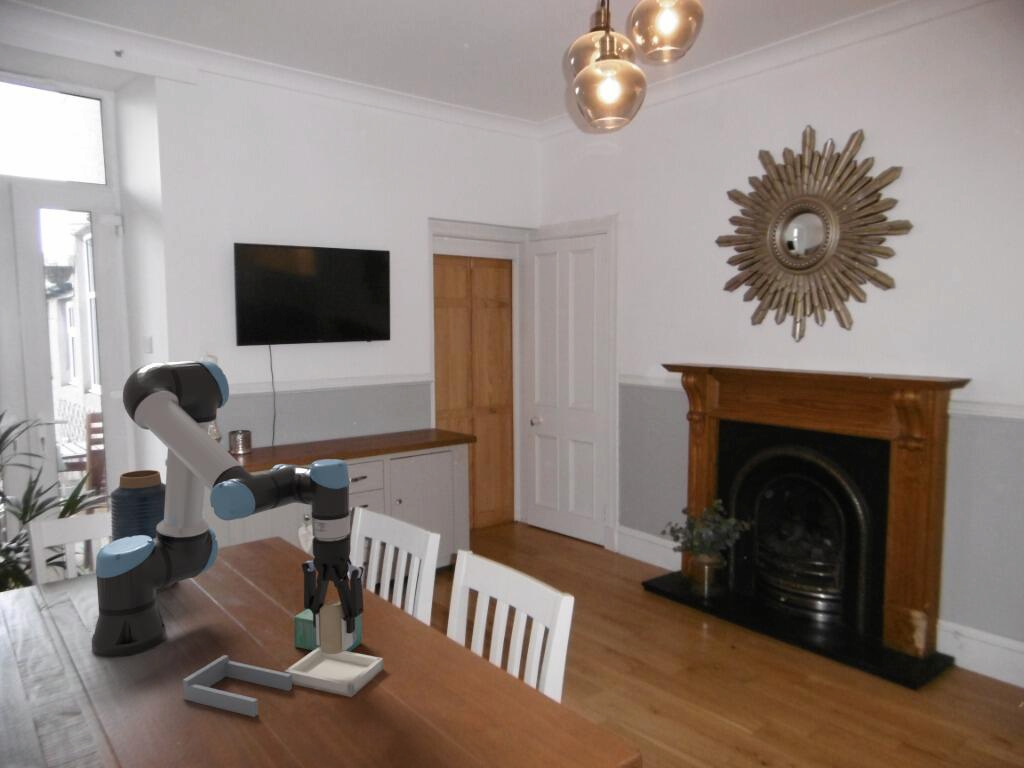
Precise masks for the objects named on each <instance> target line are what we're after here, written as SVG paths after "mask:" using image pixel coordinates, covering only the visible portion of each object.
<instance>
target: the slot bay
mask: <svg viewBox="0 0 1024 768" xmlns="http://www.w3.org/2000/svg"><path fill="white" fill-rule="evenodd" d="M229 659H230V658H229V655H226V654H223V655H222V656H219V657H218V658H216V659H215V660H213V661H212V662H210V663H208V664H207V665H205V666H204V667H201V668H200V669H199V670H197V671H196V672H193V673H192V674H190V675H189V676H187V677H185V678H184V679H183V680H182V689H183V690H182V691H183V700H186V701H190V702H194V703H197V704H201V705H205V706H209V707H213V708H218V709H220V710H224V711H229V712H233V713H238V714H241V715H244V716H245V715H246V716H249V717H252V718H256V716H258V715H259V704H258V703H259V702H258V698H255V697H250V696H246V695H242V694H237V693H234V692H229V691H225V690H220V689H217V688H214V687H213V688H212V687H211V686H213V685H215V684H217V683H218V682H219V681H221V680H223V679H224V678H226V677H227V678H230V679H236V680H240V681H244V682H249V683H253V684H257V685H261V686H265V687H270V688H275V689H280V690H283V691H287V692H290V691H291V690H292V689H293V684H292V674H288V673H284V671H283V672H282V671H278V670H273V669H270V668H265V667H260V666H255V665H251V664H247V663H241V662H237V661H233V660H229Z"/></svg>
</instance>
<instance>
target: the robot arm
mask: <svg viewBox="0 0 1024 768" xmlns="http://www.w3.org/2000/svg"><path fill="white" fill-rule="evenodd" d="M229 397H230V386H229V382H228V379H227V376H226V374H224V372H223V369H222V368H221V367H220V366H219V365H217V363H215V362H213V361H210V360H195V359H191V360H185V361H173V362H171V361H170V362H161V363H159V362H155V363H152V362H151V363H148V364H145V365H143V366H141V367H139V368H137V369H136V370H135V371H133V372H132V373H130V376H129V377H128V378H127V379H126V382H125V384H124V387H123V390H122V402H123V407H124V409H125V411H126V413H127V415H128V416H129V418H130V419H131V420H132V421H133V422H134V423H135V424H136V425H137V426H138V427H139V428H141V429H143V430H149V431H150V432H151V433H152V434H153V435H154V436H155V437H156V438H157V439H158V440H159V441H160V443H162V444H163V445H164V446H165V447H166V448H167V456H166V473H165V475H166V476H165V484H166V490H165V508H164V519H163V520H162V521H161V522H160V523H158V525H157V527H156V537H155V538H154V539H152V538H151V537H149V536H145V535H137V536H132V537H125V538H122V539H118V540H116V541H113V542H112V541H111V542H109V543H107V544H106V545H104V546H103V547H102V548H100V550H98V553H97V554H96V559H95V570H94V571H95V576H96V587H97V588H96V589H97V602H98V617H97V619H96V624H95V629H94V633H93V634H92V637H91V651H92V652H93V654H95V655H97V656H101V657H108V658H115V657H125V656H131V655H136V654H139V653H143V652H145V651H147V650H148V651H149V650H151V649H153V648H155V647H157V646H158V645H160V644H161V643H162V642H164V641H165V639H166V637H167V625H166V623H165V621H164V620H163V619H164V618H163V616H162V614H161V612H160V609H159V607H158V605H157V593H156V590H157V589H159V588H162V587H165V586H168V585H171V584H173V583H180V582H183V581H184V580H188V579H193V578H196V577H197V576H199V575H201V574H203V573H205V572H208V571H209V570H210V569H211V568H212V567H213V566H214V564H215V562H216V559H217V557H218V552H219V543H218V540H217V539H216V537H217V535H216V534H215V532H214V530H213V529H212V528H211V527H210V525H209V523H208V521H206V520H205V519H204V505H205V504H204V502H205V489H206V488H208V489H209V491H210V495H209V499H210V500H209V502H210V503H209V504H210V506H211V508H213V513H214V515H215V516H216V517H217V518H219V519H220V520H222V521H233V520H234V521H235V520H238V519H239V520H240V519H245V518H248V517H249V516H252V515H255V514H259V513H263V512H266V511H269V510H273V509H278V508H281V507H285V506H287V505H291V504H295V503H298V504H304V505H309V506H311V528H312V531H311V532H312V536H313V538H312V555H313V557H314V558H313V559H309V560H307V561H305V562H303V563H302V564H301V569H302V573H303V608H304V610H306V609H310V610H311V611H312V613H313V625H314V627H316V640H317V645H321V634H320V609H321V607H322V606H323V605H325V601H326V596H327V592H328V588H329V582H332V583H333V586H334V587H335V588H336V590H337V595H338V597H339V602H341V605H342V609H343V613H344V616H345V617H343V618H342V619H341V629H342V650H346V649H347V648H349V647H350V646H351V645H353V638H352V632H354V631H355V617H357V616H358V615H362V614H363V613H364V610H365V609H364V598H363V597H364V596H363V580H362V577H363V573H364V568H363V566H358V567H357V566H355V565H353V563H352V561H351V559H350V555H351V536H350V535H349V534H350V533H351V517H350V514H351V513H350V477H349V468H348V467H349V466H348V464H347V462H346V461H344V460H341V459H337V458H335V459H334V458H333V459H331V458H326V459H318V460H315V461H314V462H312V463H310V464H311V465H310V467H308V466H301V465H297V464H293V463H288V464H287V463H286V464H285V463H280V464H276V465H274V466H273V467H272V468H271V469H269V470H268V471H265V472H261V473H256V474H252V473H251V472H249V471H248V469H246V468H245V467H244V466H243V465H242V464H241V463H240V462H239V461H238V460H237V459H235V458H234V456H232V455H231V454H230V453H229V452H228V451H227V450H226V449H225V448H224V447H223V446H222V445H221V444H220V443H219V442H218V441H217V440H216V439H215V438H214V437H212V436H211V434H209V429H210V425H211V424H212V423H214V422H216V420H217V412H218V409H221V408H222V407H224V406H225V405H226V403H228V400H229ZM205 487H206V488H205ZM317 573H318V574H317ZM348 574H349V575H348Z"/></svg>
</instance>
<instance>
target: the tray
mask: <svg viewBox="0 0 1024 768" xmlns="http://www.w3.org/2000/svg"><path fill="white" fill-rule="evenodd" d="M383 670H384V658H383V657H378V656H373V655H370V654H369V655H367V654H362V653H359V652H358V653H357V652H352V651H351V652H348V651H343V652H341V653H337V654H326V653H323V652H322V650H321V646H319V647H318V648H316V649H315V650H311V652H309V653H308V654H307V655H305V656H304V657H302V658H300V660H298V661H297V662H295V663H294V664H292V665H290V666H289V667H288V668H287V669H285V670H284V671H283V673H288V674H292V685H296V686H300V687H304V688H307V689H308V688H309V689H313V690H318V691H323V692H328V693H330V694H331V693H332V694H335V695H340V696H343V697H345V696H346V697H348V698H353V696H354V695H356V694H357V693H358V692H359V691H360V690H361V689H363V688H364V687H365V686H366V685H367V684H368V683H369V682H370V681H372V680H373V679H374V678H375V677H376V676H378V674H380V673H381V672H382V671H383Z"/></svg>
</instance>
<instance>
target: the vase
mask: <svg viewBox="0 0 1024 768" xmlns="http://www.w3.org/2000/svg"><path fill="white" fill-rule="evenodd" d="M165 490H166V483H164V482H162V479H161V473H160V471H159V470H152V469H144V470H142V469H141V470H132V471H128V472H124V473H122V474H120V475H119V484H118V487H117V488H115V489H114V490H112V491H111V493H110V503H111V504H110V507H111V508H110V511H111V517H110V518H111V520H110V521H111V529H110V530H111V533H110V534H111V542H113V541H116V540H118V539H122V538H125V537H132V536H137V535H145V536H149V537H151V538H152V539H154V538H155V537H156V527H157V525H158V523H160V522H161V521H162V520H163V519H164V508H165ZM174 585H175V583H173V584H171V585H168V586H165V587H162V588H159V589H157V590H156V594H157V593H159V592H162V591H165V590H167V589H169V588H171V587H173V586H174Z"/></svg>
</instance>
